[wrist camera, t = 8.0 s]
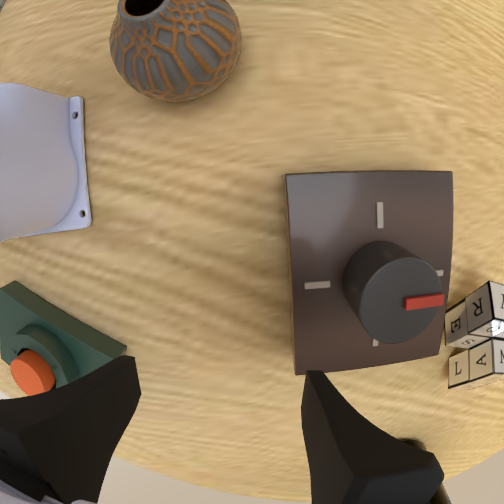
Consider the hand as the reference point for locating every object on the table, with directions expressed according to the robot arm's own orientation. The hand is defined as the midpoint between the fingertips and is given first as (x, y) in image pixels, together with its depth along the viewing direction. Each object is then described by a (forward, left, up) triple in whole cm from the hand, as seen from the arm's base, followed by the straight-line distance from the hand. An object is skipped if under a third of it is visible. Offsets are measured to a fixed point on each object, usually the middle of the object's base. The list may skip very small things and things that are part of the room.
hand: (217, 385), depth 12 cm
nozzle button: (+4, -16, -5) cm, 17 cm away
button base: (+4, -16, -9) cm, 19 cm away
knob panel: (-2, +8, -9) cm, 13 cm away
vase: (-16, -2, -9) cm, 18 cm away
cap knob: (-2, +8, -6) cm, 11 cm away
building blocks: (+4, +17, -9) cm, 20 cm away
